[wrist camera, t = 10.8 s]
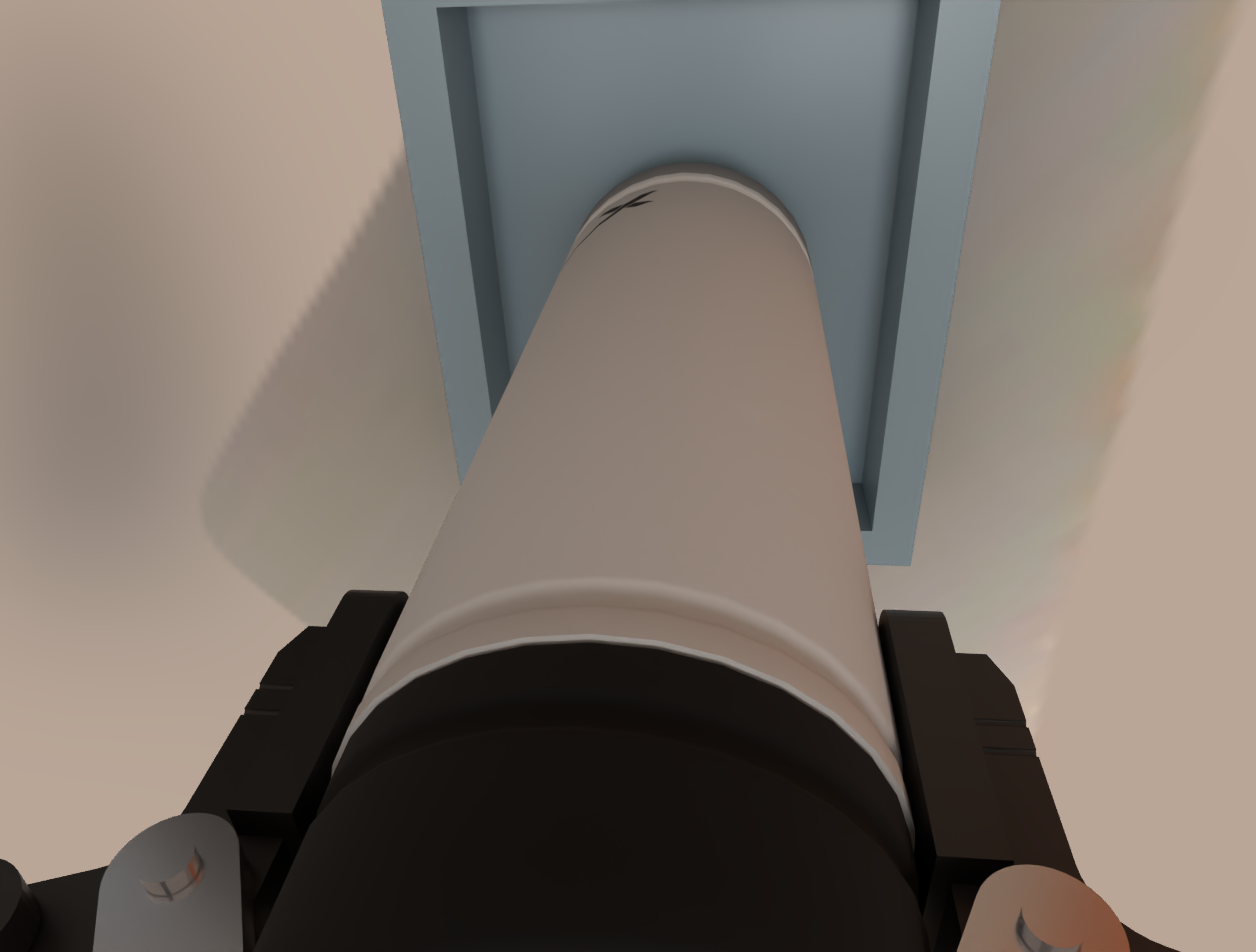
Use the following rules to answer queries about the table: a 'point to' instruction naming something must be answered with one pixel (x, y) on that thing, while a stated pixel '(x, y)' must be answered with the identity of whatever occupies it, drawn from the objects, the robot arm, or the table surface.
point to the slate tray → (714, 134)
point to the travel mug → (635, 636)
